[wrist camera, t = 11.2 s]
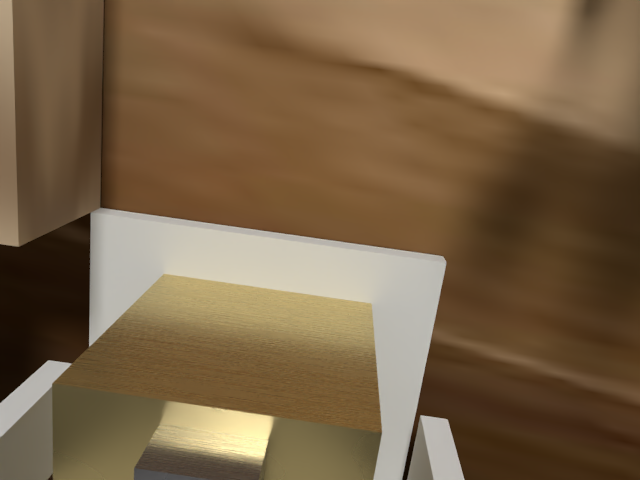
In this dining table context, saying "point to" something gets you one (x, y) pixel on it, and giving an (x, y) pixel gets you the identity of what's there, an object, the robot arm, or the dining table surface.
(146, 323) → the beige box
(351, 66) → the dining table surface
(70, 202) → the plane body
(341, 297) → the mat
